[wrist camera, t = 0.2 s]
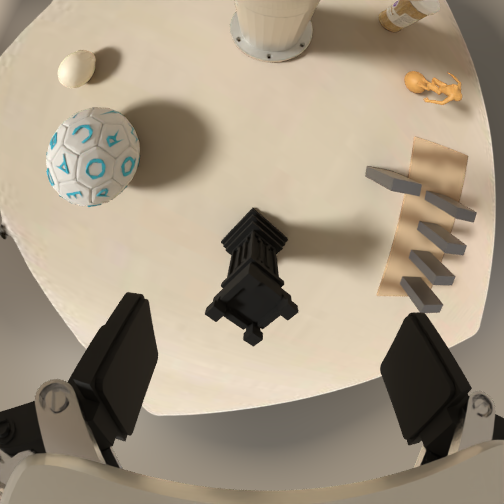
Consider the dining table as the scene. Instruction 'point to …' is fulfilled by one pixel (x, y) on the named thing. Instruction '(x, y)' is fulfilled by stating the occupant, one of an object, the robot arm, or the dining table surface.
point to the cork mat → (423, 211)
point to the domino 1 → (393, 181)
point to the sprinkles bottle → (407, 13)
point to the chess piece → (252, 279)
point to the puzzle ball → (92, 156)
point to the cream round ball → (76, 69)
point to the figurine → (433, 87)
